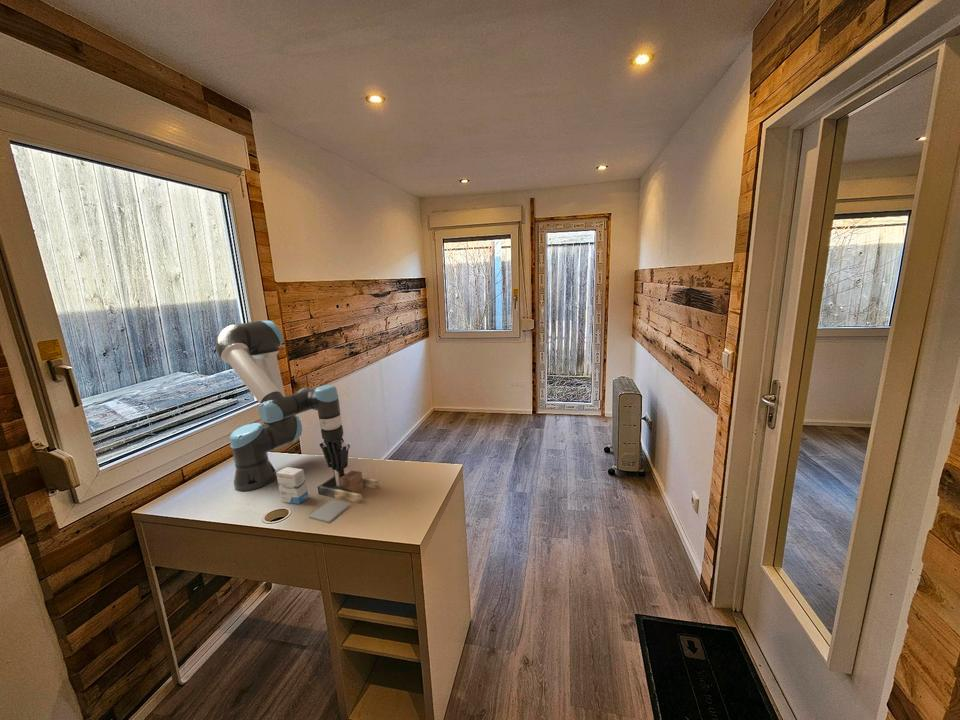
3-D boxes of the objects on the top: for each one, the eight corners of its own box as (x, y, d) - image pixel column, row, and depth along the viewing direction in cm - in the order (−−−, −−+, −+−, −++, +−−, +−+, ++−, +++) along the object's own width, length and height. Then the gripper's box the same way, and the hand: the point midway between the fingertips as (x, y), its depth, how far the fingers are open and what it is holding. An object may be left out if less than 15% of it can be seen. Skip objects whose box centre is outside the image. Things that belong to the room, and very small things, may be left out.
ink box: (309, 497, 141) (304, 468, 138) (299, 504, 136) (293, 475, 134) (291, 494, 144) (286, 466, 141) (280, 501, 139) (275, 472, 137)
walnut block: (342, 494, 141) (340, 477, 140) (353, 486, 146) (351, 470, 145) (353, 497, 139) (350, 479, 138) (364, 488, 144) (361, 472, 143)
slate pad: (308, 517, 128) (308, 516, 128) (330, 501, 137) (330, 500, 137) (328, 523, 124) (328, 521, 124) (350, 506, 133) (349, 504, 133)
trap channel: (318, 494, 142) (317, 486, 142) (339, 479, 152) (338, 472, 152) (360, 503, 135) (359, 495, 134) (379, 487, 144) (378, 480, 144)
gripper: (310, 428, 139) (320, 486, 144) (337, 432, 134) (346, 492, 139) (325, 421, 146) (334, 477, 150) (352, 424, 140) (360, 481, 145)
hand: (340, 484), depth 145 cm, fingers closed
